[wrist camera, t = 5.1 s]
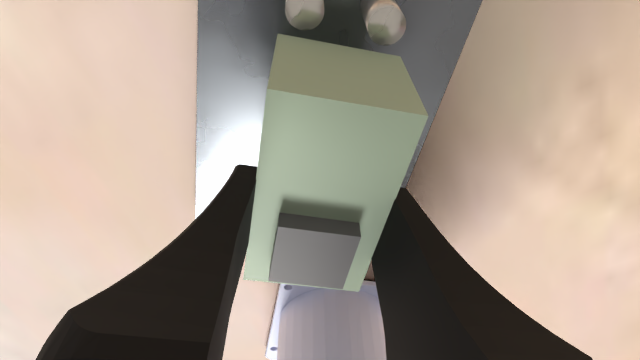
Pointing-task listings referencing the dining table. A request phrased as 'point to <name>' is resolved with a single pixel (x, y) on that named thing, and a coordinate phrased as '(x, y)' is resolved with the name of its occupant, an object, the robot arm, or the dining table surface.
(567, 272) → the dining table surface
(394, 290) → the robot arm
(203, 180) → the plate
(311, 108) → the green block
